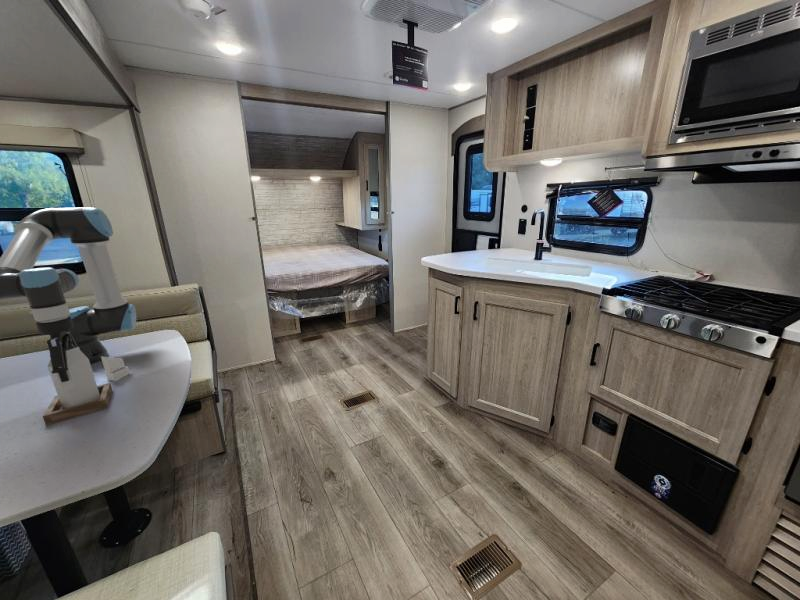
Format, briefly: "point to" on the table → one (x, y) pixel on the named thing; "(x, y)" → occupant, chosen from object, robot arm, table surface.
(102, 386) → the square wooden tray
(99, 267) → the robot arm
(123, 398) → the table surface
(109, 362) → the white angled block
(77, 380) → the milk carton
